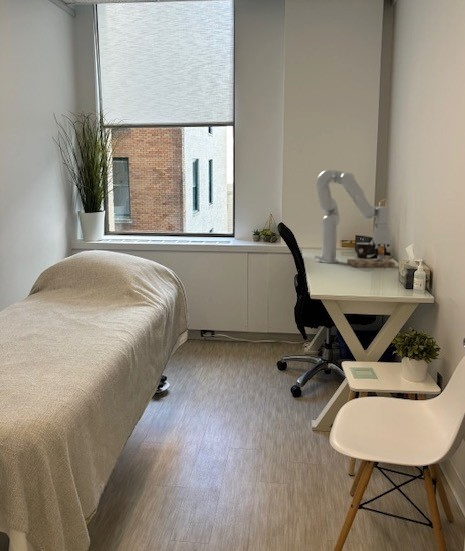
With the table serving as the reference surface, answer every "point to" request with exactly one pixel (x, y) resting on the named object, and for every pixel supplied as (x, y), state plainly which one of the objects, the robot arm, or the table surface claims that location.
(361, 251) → the coffee mug
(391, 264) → the board
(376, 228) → the robot arm
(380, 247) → the awl
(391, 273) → the table surface
